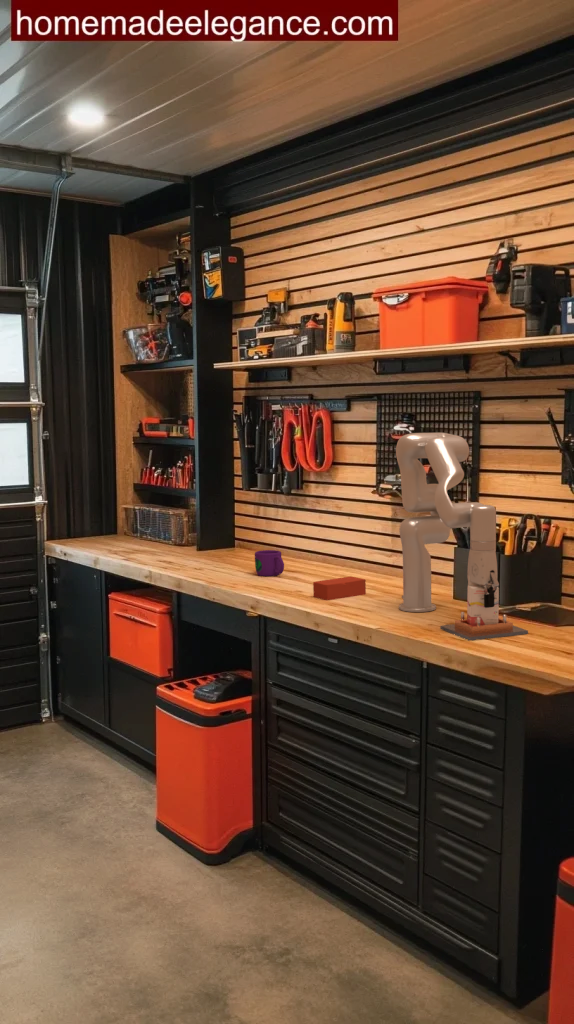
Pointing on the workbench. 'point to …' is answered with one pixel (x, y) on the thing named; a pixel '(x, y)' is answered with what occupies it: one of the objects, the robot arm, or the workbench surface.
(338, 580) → the brick
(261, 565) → the mug
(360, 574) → the workbench surface
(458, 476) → the robot arm
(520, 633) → the cartridge tray
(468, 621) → the ink cartridge box
